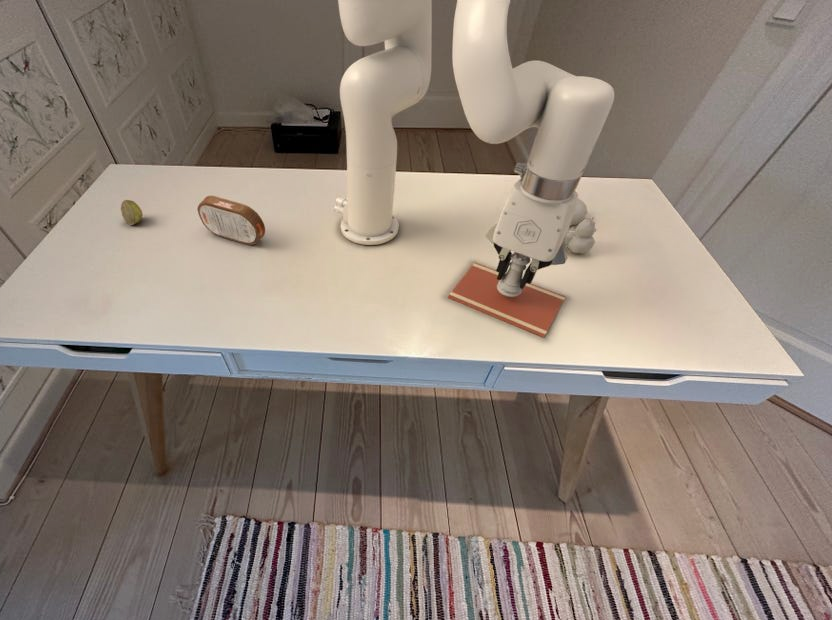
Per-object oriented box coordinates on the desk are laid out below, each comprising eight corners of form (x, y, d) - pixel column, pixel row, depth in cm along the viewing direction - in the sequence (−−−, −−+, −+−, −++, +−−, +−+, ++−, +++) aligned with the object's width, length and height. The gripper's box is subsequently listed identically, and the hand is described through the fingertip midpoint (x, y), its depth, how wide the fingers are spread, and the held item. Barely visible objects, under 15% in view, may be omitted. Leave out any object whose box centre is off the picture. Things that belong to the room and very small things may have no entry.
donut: (588, 230, 91) (577, 204, 97) (595, 216, 89) (583, 191, 95) (540, 228, 92) (533, 202, 98) (546, 214, 89) (538, 189, 95)
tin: (269, 242, 89) (262, 206, 82) (260, 251, 87) (253, 214, 81) (210, 226, 93) (199, 190, 86) (202, 233, 91) (190, 197, 85)
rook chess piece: (493, 282, 78) (505, 246, 72) (516, 281, 78) (530, 245, 72) (500, 299, 75) (513, 263, 69) (524, 297, 75) (540, 261, 69)
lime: (142, 227, 93) (132, 207, 89) (120, 227, 93) (110, 206, 89) (149, 216, 95) (140, 195, 92) (128, 216, 96) (118, 195, 92)
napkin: (447, 297, 78) (448, 295, 78) (474, 263, 84) (474, 261, 84) (543, 338, 71) (544, 336, 71) (564, 298, 78) (565, 296, 77)
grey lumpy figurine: (592, 259, 85) (610, 224, 79) (558, 256, 85) (574, 222, 79) (586, 243, 88) (604, 208, 82) (554, 241, 89) (569, 206, 83)
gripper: (485, 175, 61) (460, 274, 76) (603, 210, 55) (552, 310, 70) (504, 155, 65) (477, 253, 79) (616, 185, 59) (565, 285, 74)
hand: (512, 279), depth 74 cm, fingers closed on rook chess piece, 3 cm apart
